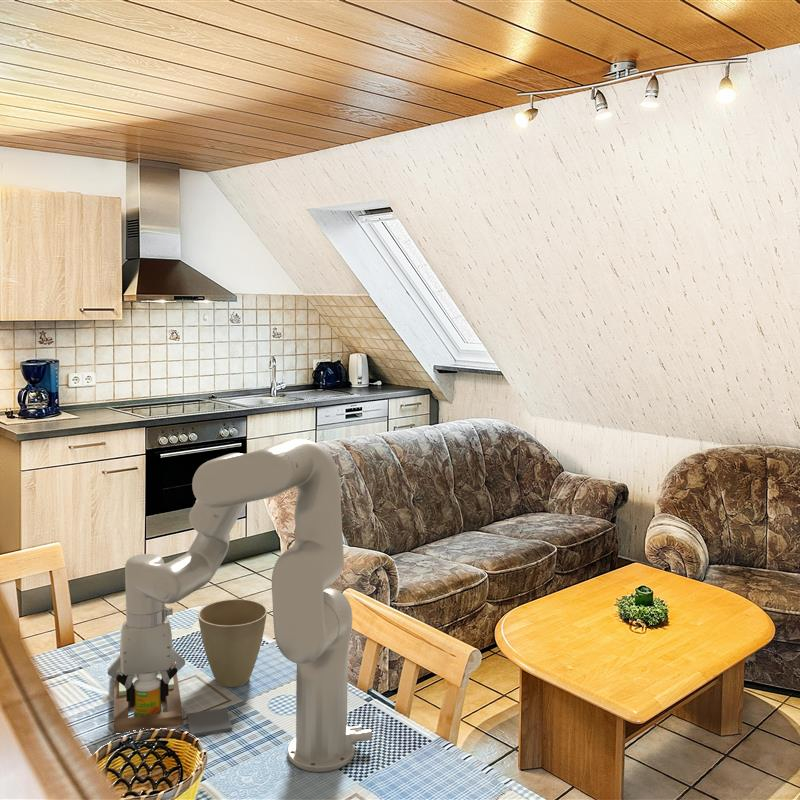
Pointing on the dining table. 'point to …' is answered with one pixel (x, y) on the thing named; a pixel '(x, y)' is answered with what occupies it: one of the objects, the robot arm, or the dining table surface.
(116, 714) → the well board
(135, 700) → the supplement bottle
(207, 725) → the pad
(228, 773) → the dining table surface
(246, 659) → the plant pot
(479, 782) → the dining table surface
